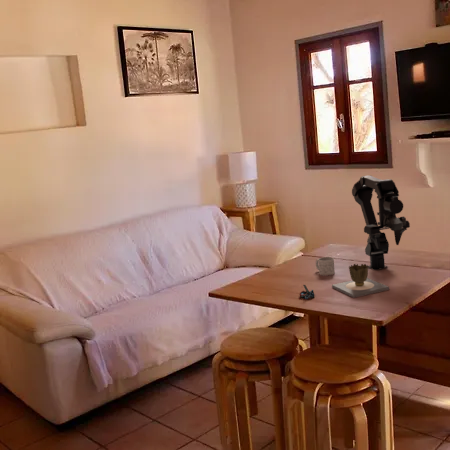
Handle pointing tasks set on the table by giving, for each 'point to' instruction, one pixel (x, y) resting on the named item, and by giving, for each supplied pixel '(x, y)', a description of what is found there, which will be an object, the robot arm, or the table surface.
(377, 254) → the robot arm
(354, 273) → the brown mottled round piece
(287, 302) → the table surface
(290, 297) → the table surface
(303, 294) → the dark blue lumpy piece
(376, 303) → the table surface
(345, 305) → the table surface
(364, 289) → the board
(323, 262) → the mug
